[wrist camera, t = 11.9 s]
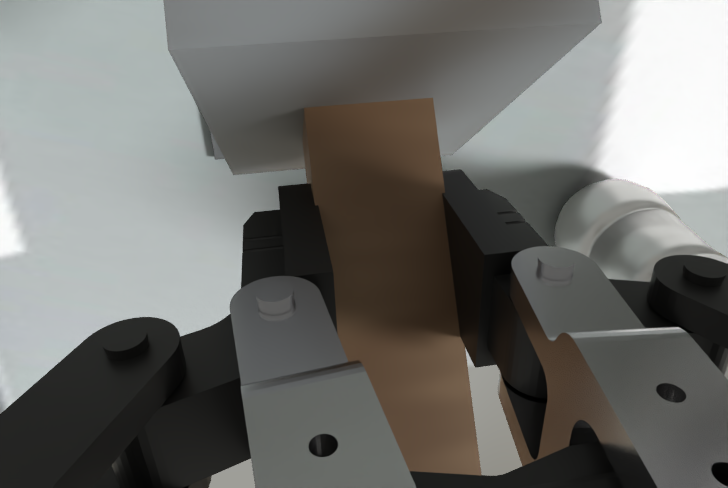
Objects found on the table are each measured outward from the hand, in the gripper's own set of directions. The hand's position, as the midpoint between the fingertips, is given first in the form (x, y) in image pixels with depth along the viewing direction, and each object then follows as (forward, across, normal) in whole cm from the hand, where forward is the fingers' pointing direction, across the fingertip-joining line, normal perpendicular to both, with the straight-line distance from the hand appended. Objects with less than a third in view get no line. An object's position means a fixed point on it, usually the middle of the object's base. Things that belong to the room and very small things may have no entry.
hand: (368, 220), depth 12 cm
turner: (+1, 0, -3) cm, 3 cm away
